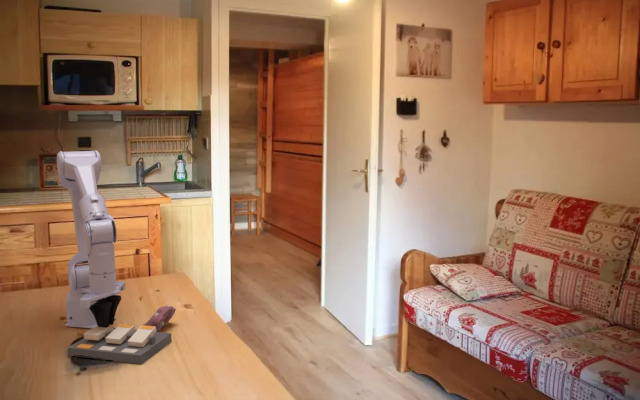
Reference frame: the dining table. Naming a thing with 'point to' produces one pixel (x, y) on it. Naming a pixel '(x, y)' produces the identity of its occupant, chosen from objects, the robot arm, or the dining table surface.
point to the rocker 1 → (98, 332)
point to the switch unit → (120, 348)
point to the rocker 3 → (142, 336)
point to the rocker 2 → (120, 334)
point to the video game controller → (161, 317)
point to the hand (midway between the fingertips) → (105, 328)
